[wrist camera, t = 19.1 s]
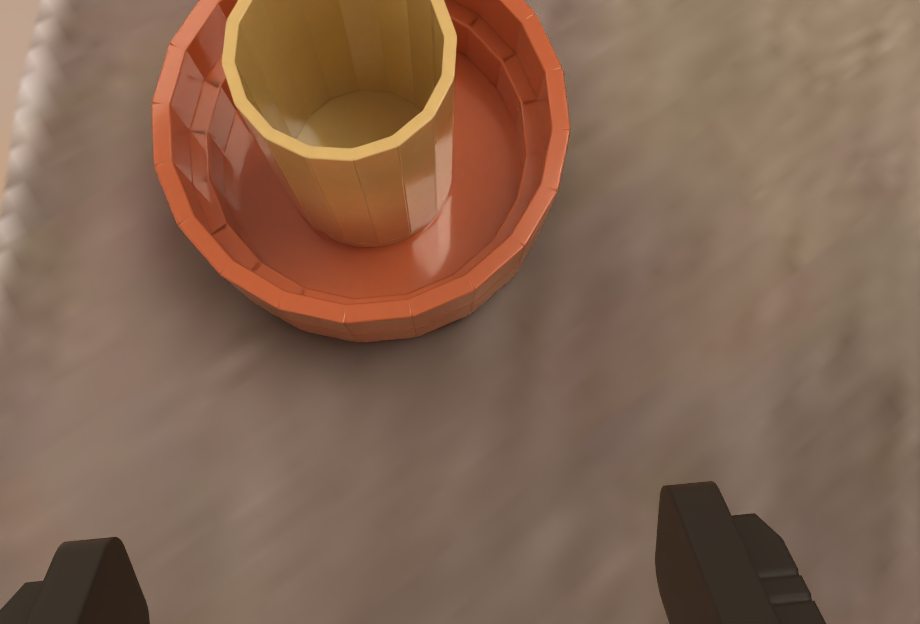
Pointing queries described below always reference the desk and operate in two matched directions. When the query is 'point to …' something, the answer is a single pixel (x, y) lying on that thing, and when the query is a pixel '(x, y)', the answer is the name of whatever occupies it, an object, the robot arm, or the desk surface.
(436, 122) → the cup
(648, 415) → the desk surface
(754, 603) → the robot arm
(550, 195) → the bowl
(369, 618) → the desk surface
